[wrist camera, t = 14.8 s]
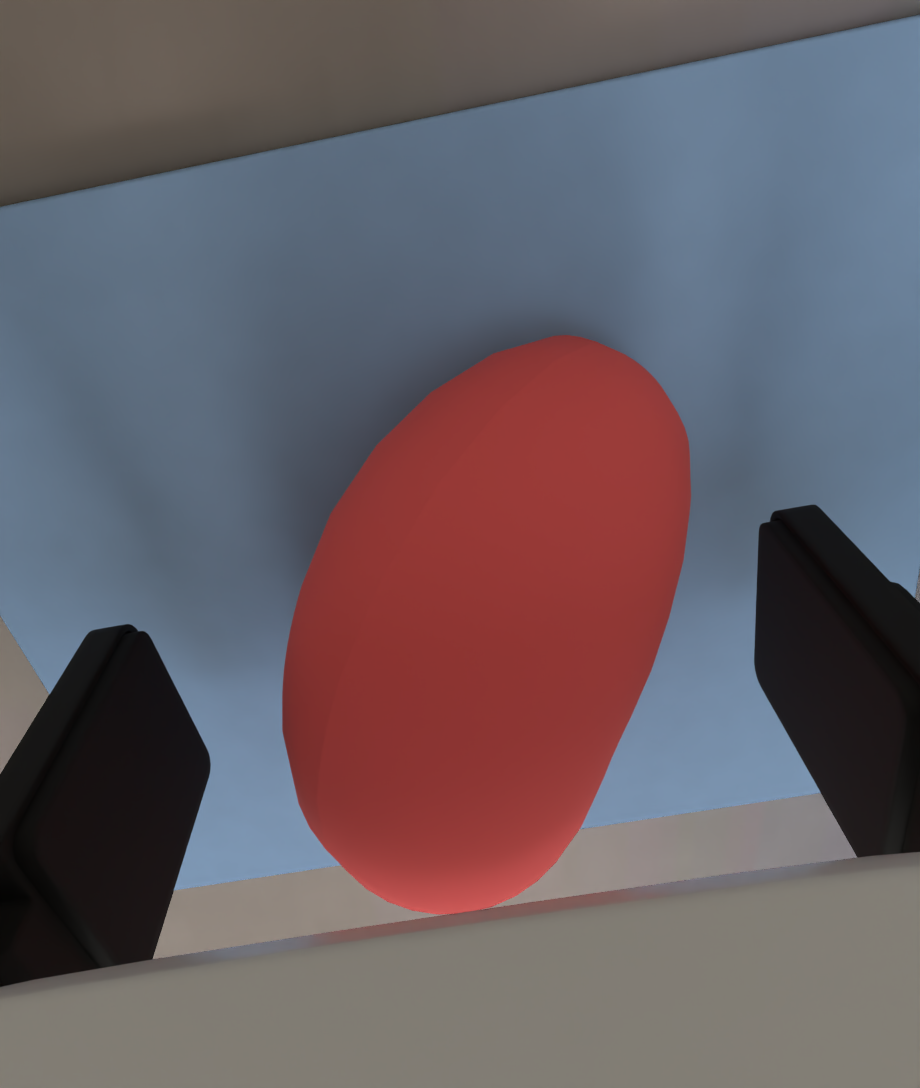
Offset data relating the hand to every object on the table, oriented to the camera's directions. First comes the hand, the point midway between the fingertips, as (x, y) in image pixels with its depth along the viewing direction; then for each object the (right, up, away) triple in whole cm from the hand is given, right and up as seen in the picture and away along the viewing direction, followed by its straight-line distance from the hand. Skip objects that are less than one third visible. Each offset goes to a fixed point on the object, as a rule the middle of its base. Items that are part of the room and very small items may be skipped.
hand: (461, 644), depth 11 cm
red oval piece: (0, +1, +2) cm, 2 cm away
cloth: (0, +1, +2) cm, 2 cm away
